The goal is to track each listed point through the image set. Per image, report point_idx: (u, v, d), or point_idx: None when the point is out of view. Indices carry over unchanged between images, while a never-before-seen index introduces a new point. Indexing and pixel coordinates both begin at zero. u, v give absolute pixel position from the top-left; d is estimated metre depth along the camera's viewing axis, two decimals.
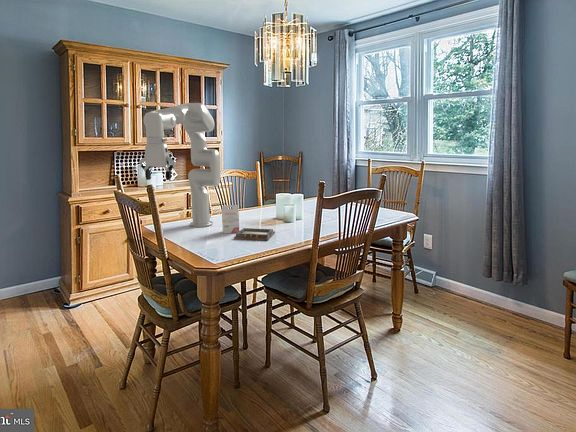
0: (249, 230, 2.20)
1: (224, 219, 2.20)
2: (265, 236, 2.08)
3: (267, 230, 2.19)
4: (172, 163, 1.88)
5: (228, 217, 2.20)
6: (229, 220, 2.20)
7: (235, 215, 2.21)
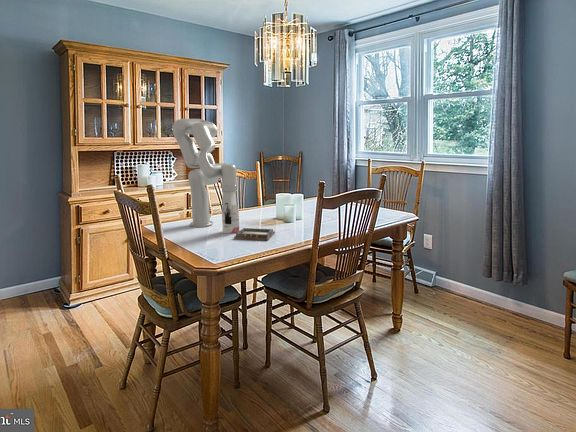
0: (249, 230, 2.20)
1: (224, 219, 2.20)
2: (265, 236, 2.08)
3: (267, 230, 2.19)
4: None
5: None
6: None
7: (235, 215, 2.21)
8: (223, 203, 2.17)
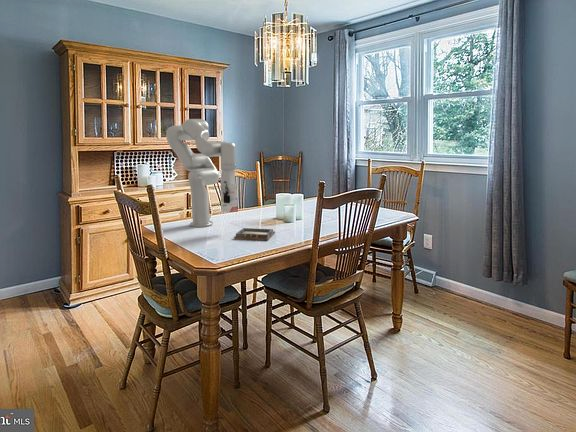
0: (249, 230, 2.20)
1: (222, 198, 2.18)
2: (265, 236, 2.08)
3: (267, 230, 2.19)
4: None
5: None
6: None
7: (234, 194, 2.19)
8: (222, 181, 2.15)
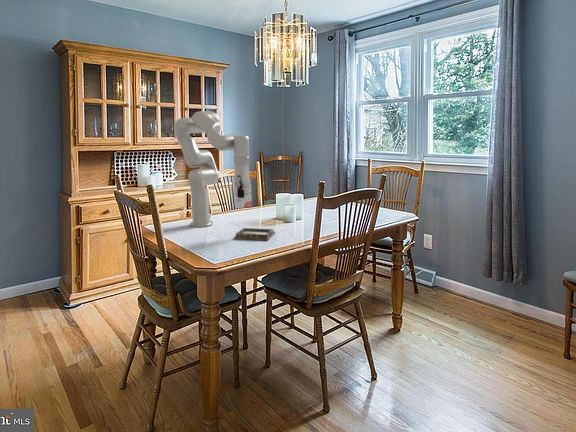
0: (249, 230, 2.20)
1: (236, 193, 2.12)
2: (265, 236, 2.08)
3: (267, 230, 2.19)
4: None
5: None
6: None
7: (248, 189, 2.12)
8: (236, 175, 2.08)
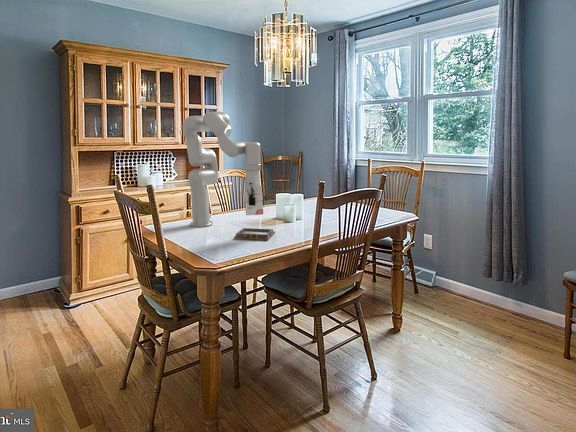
0: (249, 230, 2.20)
1: (247, 200, 2.09)
2: (265, 236, 2.08)
3: (267, 230, 2.19)
4: None
5: None
6: None
7: (259, 196, 2.09)
8: (247, 183, 2.05)
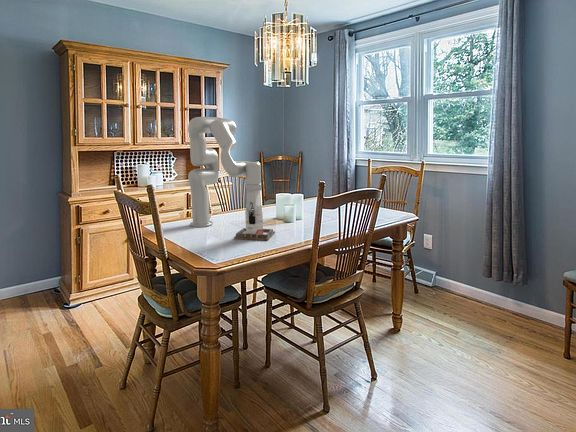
0: None
1: (247, 220, 2.11)
2: (265, 236, 2.08)
3: (267, 230, 2.19)
4: None
5: None
6: None
7: (259, 217, 2.11)
8: (247, 202, 2.07)
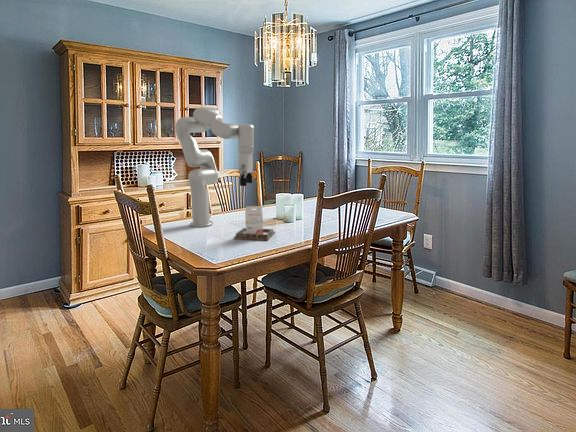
0: None
1: (247, 220, 2.11)
2: (265, 236, 2.08)
3: (267, 230, 2.19)
4: None
5: (251, 218, 2.11)
6: (252, 221, 2.11)
7: (259, 217, 2.11)
8: (239, 164, 2.07)
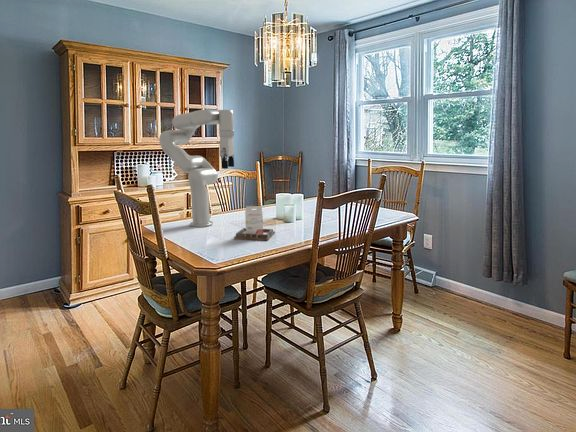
0: None
1: (247, 220, 2.11)
2: (265, 236, 2.08)
3: (267, 230, 2.19)
4: None
5: (251, 218, 2.11)
6: (252, 221, 2.11)
7: (259, 217, 2.11)
8: (220, 148, 2.16)
